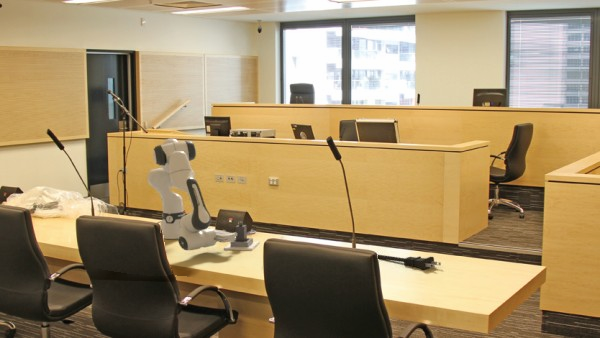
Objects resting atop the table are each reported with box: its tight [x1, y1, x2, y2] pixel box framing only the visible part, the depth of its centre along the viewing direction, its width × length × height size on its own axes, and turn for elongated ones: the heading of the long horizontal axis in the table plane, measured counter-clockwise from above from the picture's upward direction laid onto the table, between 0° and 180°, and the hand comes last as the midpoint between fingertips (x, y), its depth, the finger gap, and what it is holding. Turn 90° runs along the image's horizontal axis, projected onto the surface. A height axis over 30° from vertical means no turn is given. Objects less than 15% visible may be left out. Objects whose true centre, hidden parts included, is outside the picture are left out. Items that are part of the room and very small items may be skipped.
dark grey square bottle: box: [235, 221, 248, 242], centre depth 383 cm, size 4×4×12 cm
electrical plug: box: [377, 254, 442, 271], centre depth 342 cm, size 9×42×5 cm, turn 45°
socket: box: [223, 237, 261, 251], centre depth 383 cm, size 15×15×4 cm
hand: (230, 232), depth 378 cm, fingers open, 8 cm apart
